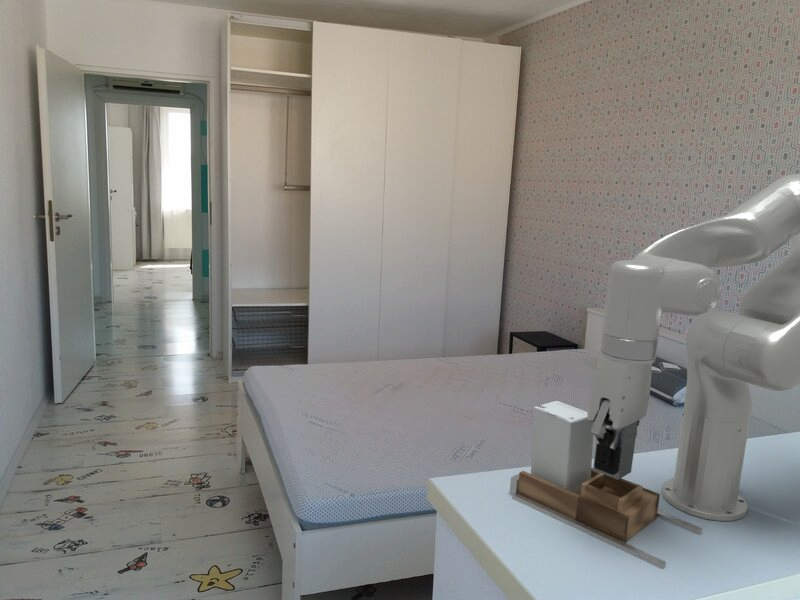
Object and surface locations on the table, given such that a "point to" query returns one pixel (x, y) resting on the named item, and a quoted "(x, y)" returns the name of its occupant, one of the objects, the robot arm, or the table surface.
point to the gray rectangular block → (623, 450)
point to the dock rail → (597, 533)
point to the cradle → (597, 503)
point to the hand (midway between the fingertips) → (613, 465)
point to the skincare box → (562, 445)
